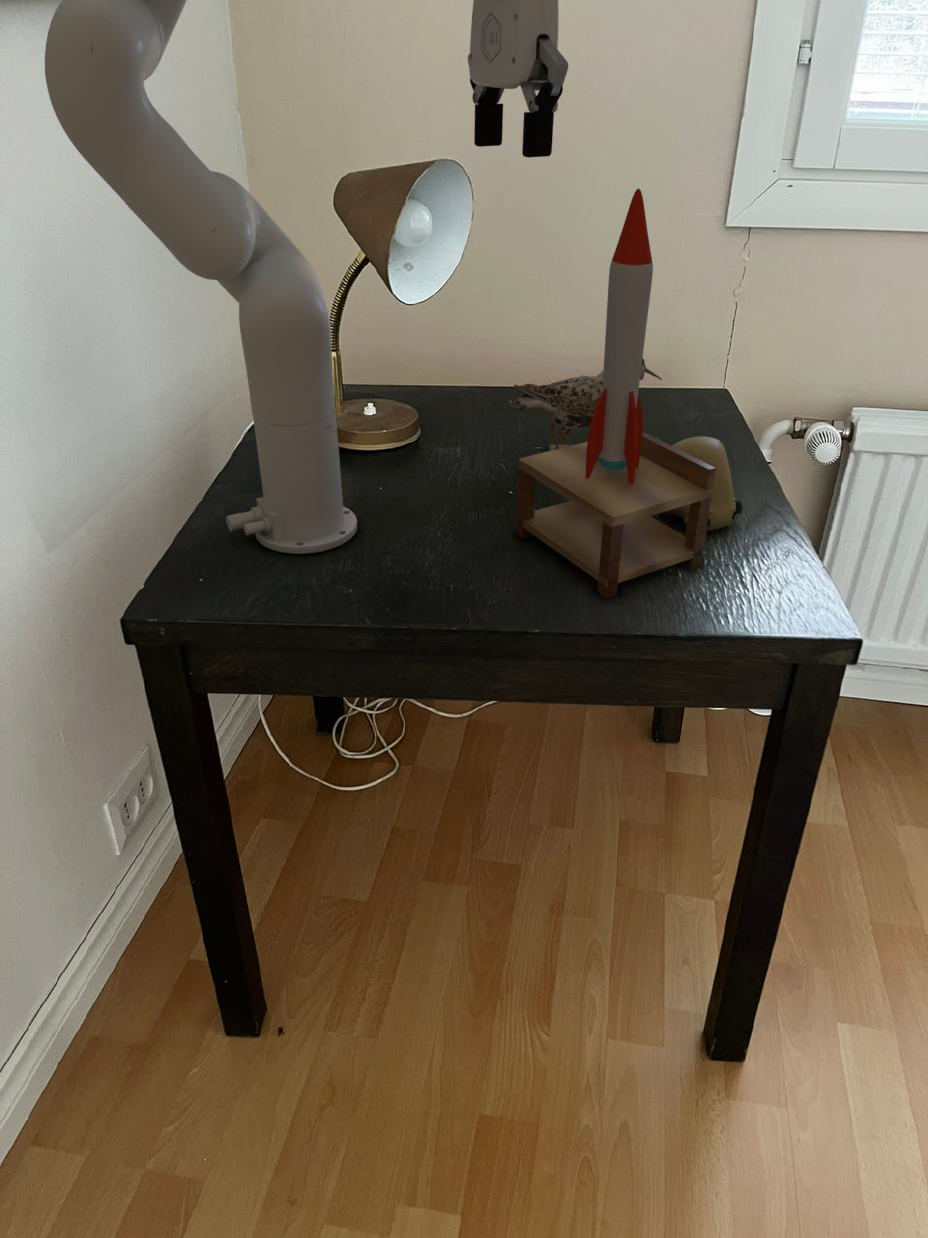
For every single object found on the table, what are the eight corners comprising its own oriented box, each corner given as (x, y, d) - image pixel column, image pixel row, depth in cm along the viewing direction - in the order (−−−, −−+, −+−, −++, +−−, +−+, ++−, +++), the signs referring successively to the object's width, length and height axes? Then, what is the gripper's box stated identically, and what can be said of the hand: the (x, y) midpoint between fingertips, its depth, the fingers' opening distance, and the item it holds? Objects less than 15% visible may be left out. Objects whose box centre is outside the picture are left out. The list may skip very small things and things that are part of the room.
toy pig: (661, 549, 122) (703, 526, 112) (632, 462, 123) (671, 431, 113) (725, 533, 125) (771, 509, 115) (696, 448, 126) (740, 416, 116)
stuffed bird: (657, 466, 135) (671, 346, 126) (524, 483, 130) (528, 359, 121) (628, 440, 143) (639, 325, 134) (501, 455, 138) (504, 337, 129)
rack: (605, 598, 105) (614, 496, 98) (515, 533, 118) (518, 439, 111) (701, 566, 111) (716, 467, 104) (605, 507, 124) (613, 416, 117)
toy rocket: (632, 485, 106) (665, 195, 90) (583, 479, 108) (606, 191, 91) (640, 466, 110) (673, 185, 94) (593, 460, 112) (617, 182, 96)
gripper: (441, -47, 95) (441, 143, 104) (534, -55, 82) (525, 163, 92) (505, -44, 98) (500, 140, 108) (604, -51, 86) (588, 159, 95)
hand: (511, 150), depth 100 cm, fingers open, 9 cm apart
